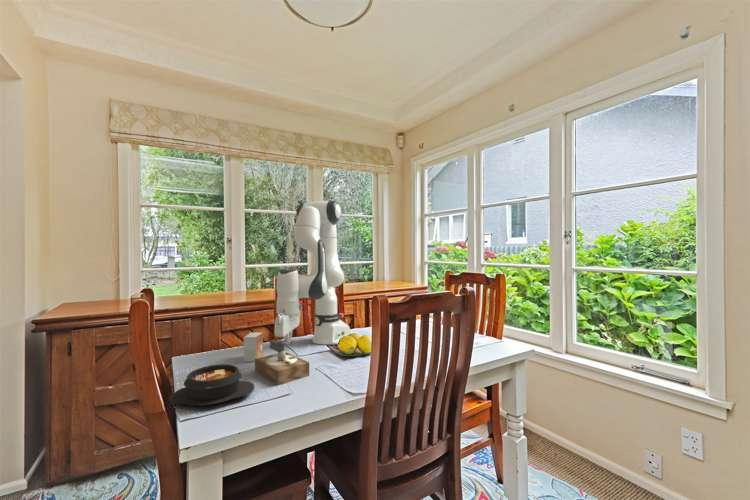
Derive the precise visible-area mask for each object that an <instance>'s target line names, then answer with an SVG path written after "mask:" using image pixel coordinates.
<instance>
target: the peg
mask: <svg viewBox="0 0 750 500" xmlns="http://www.w3.org/2000/svg"><path fill="white" fill-rule="evenodd" d="M286 344H287V343H286V341H285V340H282V339H281V340H277V339H272V340H269V349H271V350H273V351H275V352H277V353H278V361H286V362H288V363H291V362H290V361H287V360H285V352H286V350H285V345H286Z"/></svg>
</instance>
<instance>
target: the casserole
mask: <svg viewBox="0 0 750 500" xmlns="http://www.w3.org/2000/svg"><path fill="white" fill-rule="evenodd" d="M241 378H242V372H241V371H240V370H239V368H238V366H236V365H232V364H212V365H208V366H204V367H203V366H202V367H200V368H197V369H194V370H192V371H191V372H189V373H188V374H187V376H186V379H185V380H184V382H183V386H184V387H181V388H180V389H179V388H178V390H176V391H175V392H173V393H172V394H171V395H170V397H169V399H168V401H169V402H170V404H173V405H189V406H199V407H202V406H212V405H218V404H221V403H224V402H227V401H231V400H235V399H239V398H242V397H246V396H248V395H250V394H251V393H253V391H254V389H255V384H254V383H253V382H252V381H248V380H240V379H241Z"/></svg>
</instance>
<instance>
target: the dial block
mask: <svg viewBox="0 0 750 500" xmlns="http://www.w3.org/2000/svg"><path fill="white" fill-rule="evenodd" d="M285 360H287V361H290V362H291V363H288V362H286V361H278V352H277V353H274V354H270V355H265V356H262V357H261V358H257V359H255V361H254V373H256V374H258V375H259V376H261V377H263V378H264V379H267V380H268V381H269V382H272V383H273V384H275V385H276V386H280V385H284V384H287V383H291V382H293V381H296V380H300V379H302V378H306V377H309V376H310V362H309V361H307V360H305V359H304V358H303V359H302V358H300V357H298V356H295V355H294V354H292V353H291V354H290V353H289V352H287V351H285Z"/></svg>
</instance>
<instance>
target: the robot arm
mask: <svg viewBox="0 0 750 500" xmlns="http://www.w3.org/2000/svg"><path fill="white" fill-rule="evenodd" d="M295 212H296V222H295V226H294V227H295V228H294V232H293V239H294V240H293V241H295V243H296V244H297V246H298V247H300V248H302V249H303V250H305V251H308V252H309V253H312V254H313V256H314V257H313V258H314V266H313V267H312V268H311V269H310V272H309V275H307V274H306V275H305V274H301V273H298V269H297V268H294V267H287V268H285V267H284V268H281V269H280V270H278V273H277V277H276V294H277V297H276V314H277V316H276V317H275V320H274V333H273V334H274V336H275V337H276V338H283V339H284V340H285V341H286V344H289V343H290V342H292V335H293V330H295V329H296V328H298V326H300V322H301V310H302V307H303V306H302V304H301V303H300V298H302V299H303V298H304V299H313V300H315V301H314V302H315V313H314V332H313V337H312V343H314V344H317V345H335V344H337V345H339V344H338V341H339V339H340V338H341V337H343V336H345V335H348V334H350V333H351V329H350V326H349V325H348V324H347V323H346V322H344V321H343V320H341V318H344V316H345V314H344V313H343V312H342V313H341V312H338V296H337V294H336V291H335V289H334V288H337V287H339V286H341V285H342V284H343V282H344V280H345V274H344V271H343V270H342V267H341V264H340V260H339V254H338V232H337V222H339V220H340V218H341V216H342V209H341V205H340V204H339V202H338V201H335V200H314V201H313V200H312V201H305V202H300V203H299V204H298V206H297V207H296V210H295Z"/></svg>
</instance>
